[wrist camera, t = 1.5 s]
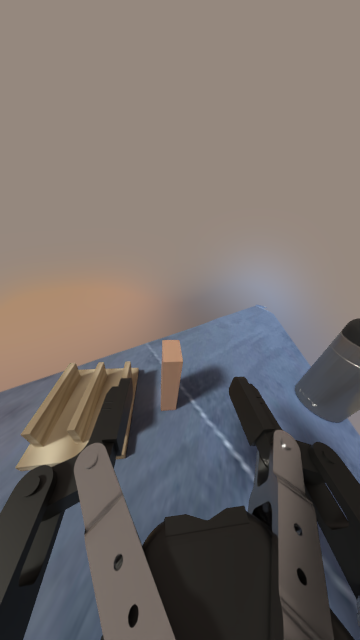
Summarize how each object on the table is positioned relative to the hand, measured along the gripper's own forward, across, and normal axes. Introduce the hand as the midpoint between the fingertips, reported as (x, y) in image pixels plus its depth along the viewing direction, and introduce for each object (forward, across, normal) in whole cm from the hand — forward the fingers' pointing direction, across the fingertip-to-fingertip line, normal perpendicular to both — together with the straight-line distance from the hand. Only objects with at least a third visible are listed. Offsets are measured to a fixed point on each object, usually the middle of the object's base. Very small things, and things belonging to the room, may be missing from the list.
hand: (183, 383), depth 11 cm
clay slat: (+11, 0, +20) cm, 23 cm away
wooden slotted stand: (+10, +14, +20) cm, 26 cm away
